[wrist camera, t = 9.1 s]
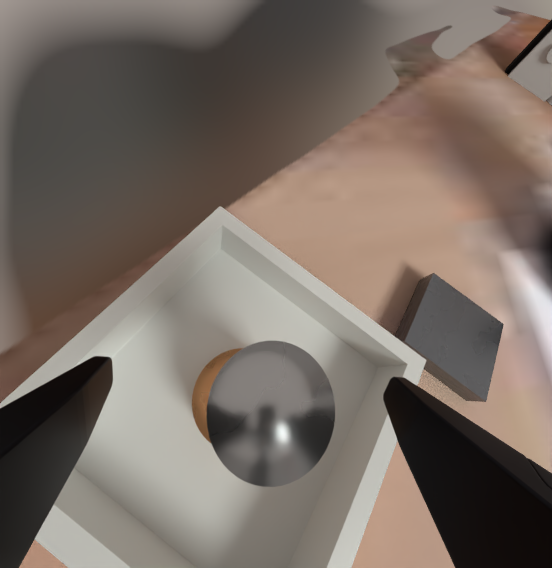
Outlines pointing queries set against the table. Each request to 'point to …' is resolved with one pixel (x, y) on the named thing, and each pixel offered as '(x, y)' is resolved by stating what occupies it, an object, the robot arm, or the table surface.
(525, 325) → the table surface
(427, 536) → the table surface
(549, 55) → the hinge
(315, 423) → the knob
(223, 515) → the bin
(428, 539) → the table surface
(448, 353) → the stud plate
